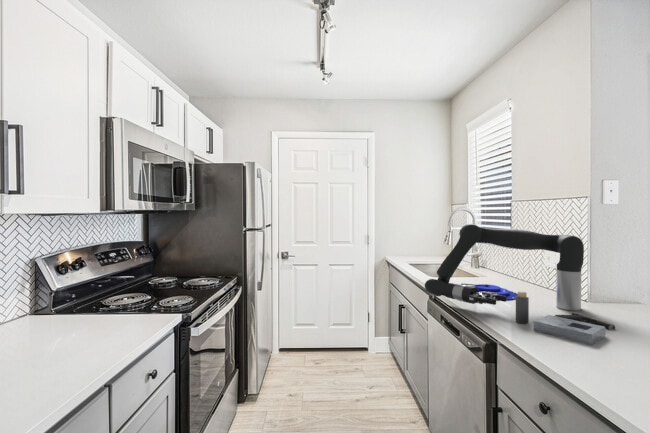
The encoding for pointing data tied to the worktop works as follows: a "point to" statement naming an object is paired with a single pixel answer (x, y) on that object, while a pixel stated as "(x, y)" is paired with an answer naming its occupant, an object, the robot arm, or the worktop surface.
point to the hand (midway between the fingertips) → (501, 300)
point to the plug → (522, 308)
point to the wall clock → (495, 290)
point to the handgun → (587, 320)
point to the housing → (570, 329)
